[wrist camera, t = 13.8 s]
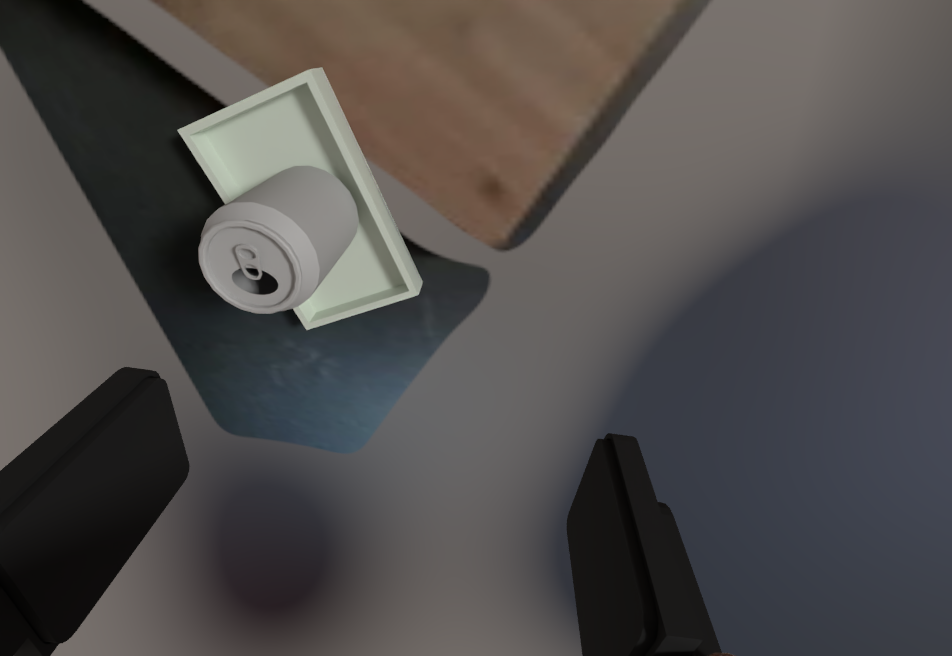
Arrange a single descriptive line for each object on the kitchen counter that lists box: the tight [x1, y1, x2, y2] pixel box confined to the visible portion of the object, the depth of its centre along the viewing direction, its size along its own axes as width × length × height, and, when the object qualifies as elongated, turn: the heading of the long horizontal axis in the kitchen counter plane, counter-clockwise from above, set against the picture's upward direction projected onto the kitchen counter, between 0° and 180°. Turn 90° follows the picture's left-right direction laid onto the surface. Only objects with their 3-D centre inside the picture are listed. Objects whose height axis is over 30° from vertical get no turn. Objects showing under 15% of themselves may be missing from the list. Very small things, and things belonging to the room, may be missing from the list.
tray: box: [177, 67, 423, 330], centre depth 38 cm, size 18×11×2 cm, turn 20°
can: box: [198, 166, 359, 314], centre depth 33 cm, size 8×8×12 cm
